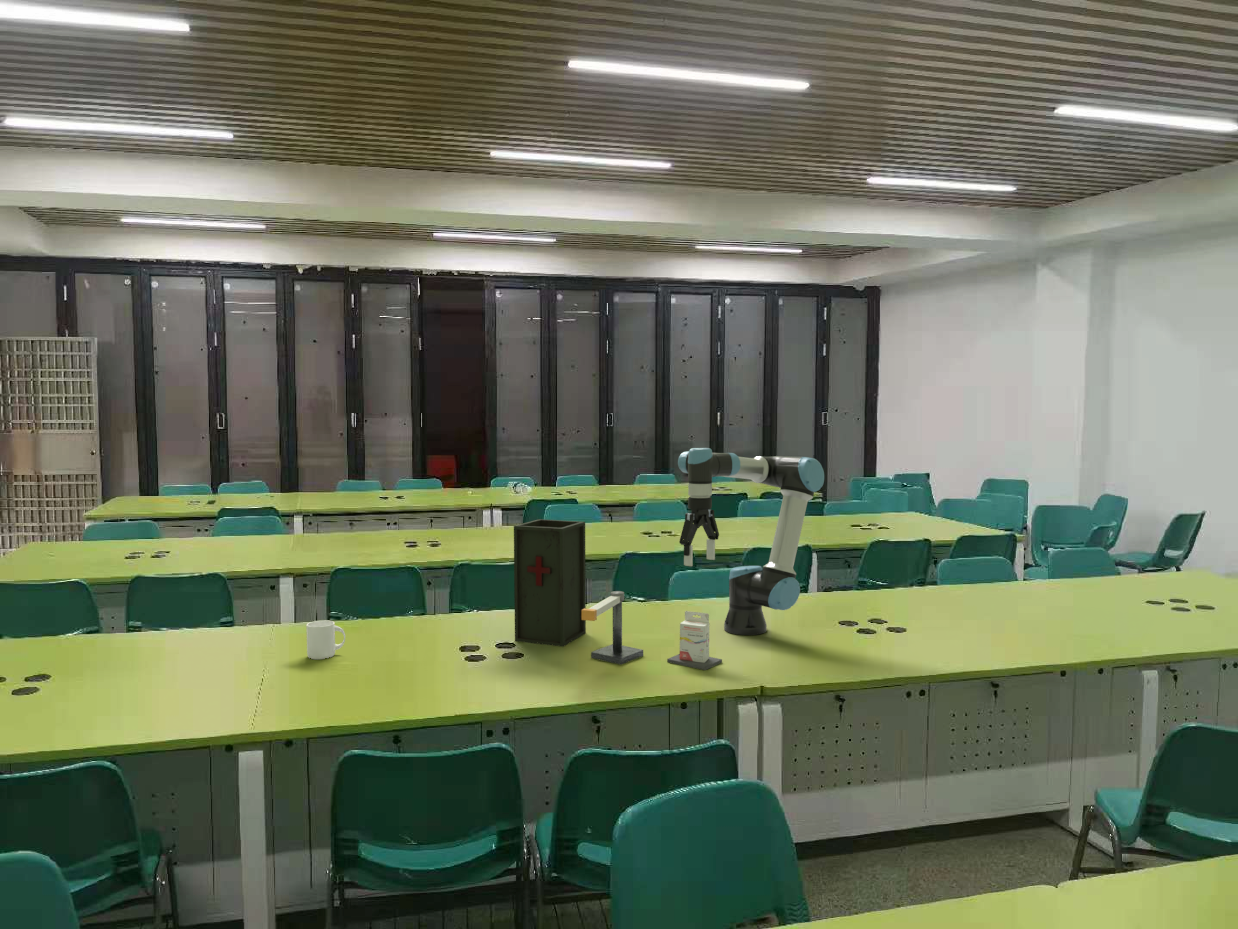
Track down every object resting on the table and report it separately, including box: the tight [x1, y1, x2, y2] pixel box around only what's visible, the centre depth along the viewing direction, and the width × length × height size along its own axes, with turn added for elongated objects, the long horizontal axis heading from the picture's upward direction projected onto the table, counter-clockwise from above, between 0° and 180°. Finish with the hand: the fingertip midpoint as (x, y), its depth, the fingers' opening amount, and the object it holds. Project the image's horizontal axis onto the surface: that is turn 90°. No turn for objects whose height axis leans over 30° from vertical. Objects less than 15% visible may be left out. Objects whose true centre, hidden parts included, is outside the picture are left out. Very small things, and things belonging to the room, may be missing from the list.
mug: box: [305, 619, 346, 660], centre depth 279 cm, size 9×12×11 cm
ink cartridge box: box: [679, 610, 710, 663], centre depth 271 cm, size 9×5×15 cm, turn 67°
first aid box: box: [513, 518, 587, 648], centre depth 300 cm, size 18×18×40 cm
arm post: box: [590, 601, 644, 666], centre depth 277 cm, size 12×12×18 cm
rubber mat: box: [667, 653, 723, 671], centre depth 271 cm, size 10×14×1 cm
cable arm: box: [582, 590, 625, 622], centre depth 265 cm, size 27×4×3 cm, turn 159°
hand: (699, 562), depth 275 cm, fingers open, 13 cm apart
